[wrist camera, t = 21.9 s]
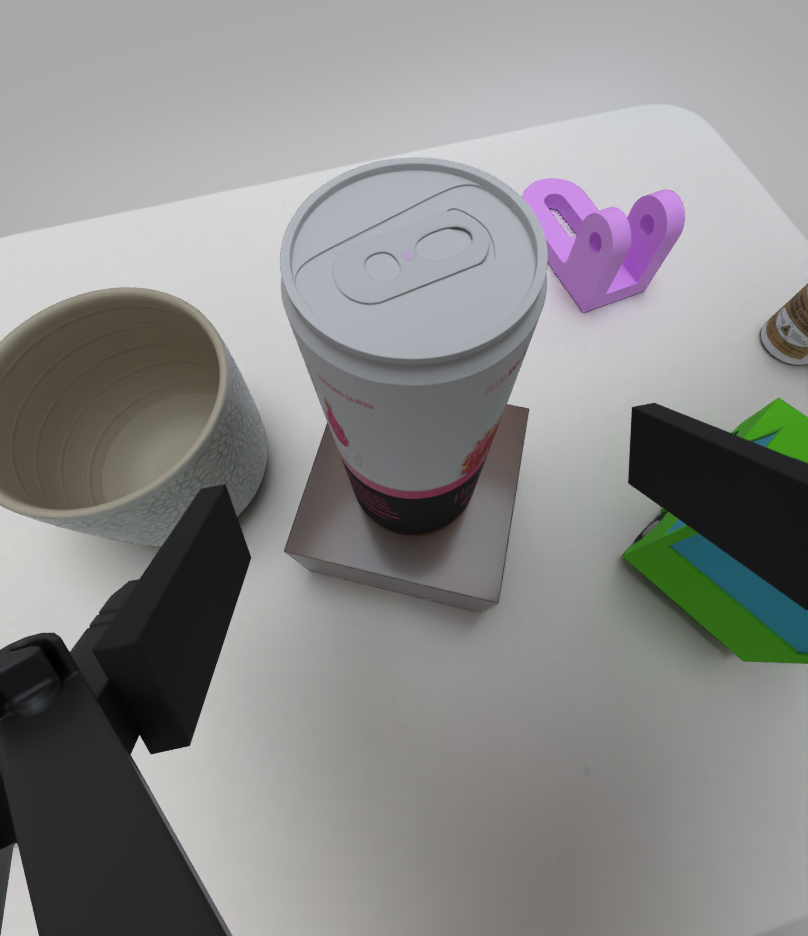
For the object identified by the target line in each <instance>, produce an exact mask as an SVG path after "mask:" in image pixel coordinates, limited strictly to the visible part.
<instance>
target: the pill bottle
mask: <svg viewBox="0 0 808 936" xmlns="http://www.w3.org/2000/svg"><path fill="white" fill-rule="evenodd" d="M761 338H762V342H763V344H764V346H765V347H766V349H767V350H768V351H769V352H770V353H771V354H772V355H773V356H775V357H776V358H777V359H779V360H781V361H784V362H786V363H790V364H794V365H804V364H808V284H807V285H806V286H805V287H804V288H802V289H801V290H800V291H799V292H798V293H797V294H796V295H795V296H794V297H793V298H792V299H791V300H790V301H788V302H787V303H786V304H785V305H784V306H783V307H782V308H781V309H780V310H779V311H778V312H777V313H776V314H774V315H773V316H772V317H771V318H770V319H769V320H768V321H767V322H766V323H765V324H764V326H763V328H762V332H761Z"/></svg>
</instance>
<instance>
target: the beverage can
mask: <svg viewBox="0 0 808 936" xmlns="http://www.w3.org/2000/svg"><path fill="white" fill-rule="evenodd" d="M547 265H548V250H547V243H546V238H545V235H544V232H543V229H542V226H541V224H540V222H539V220H538V218H537V217H536V215H535V213H534V212H533V210H532V209H531V208H530V206H529V205H528V204H527V203H526V201H525V200H524V199H523V198H522V197H521V196H520V195H519V194H518V193H517V192H515V191H514V190H513V189H512V188H511V187H509V186H508V185H506V184H505V183H504V182H502V181H501V180H499V179H497V178H496V177H494V176H492V175H490V174H488V173H486V172H484V171H481V170H479V169H476V168H474V167H471V166H468V165H465V164H461V163H457V162H453V161H448V160H442V159H434V158H398V159H389V160H383V161H378V162H374V163H370V164H367V165H363V166H360V167H358V168H355V169H352V170H350V171H348V172H345V173H343V174H341V175H339V176H337V177H336V178H334V179H332V180H330V181H329V182H327V183H326V184H324V185H323V186H321V187H320V188H319V189H318V190H316V191H315V192H314V193H313V194H312V195H311V196H309V197H308V198H307V199H306V200H305V202H304V203H303V204H302V205H301V206H300V207H299V208H298V210H297V211H296V213H295V214H294V216H293V217H292V219H291V221H290V223H289V225H288V227H287V229H286V231H285V234H284V237H283V241H282V245H281V252H280V269H281V275H282V276H281V293H282V300H283V304H284V308H285V311H286V314H287V317H288V319H289V322H290V324H291V327H292V330H293V332H294V335H295V338H296V340H297V343H298V346H299V348H300V351H301V353H302V356H303V359H304V361H305V364H306V367H307V369H308V372H309V375H310V377H311V380H312V382H313V385H314V388H315V390H316V393H317V396H318V398H319V401H320V404H321V406H322V409H323V411H324V414H325V417H326V419H327V422H328V425H329V427H330V430H331V432H332V435H333V438H334V440H335V443H336V446H337V448H338V451H339V454H340V456H341V459H342V461H343V464H344V467H345V469H346V472H347V475H348V477H349V480H350V483H351V485H352V488H353V490H354V493H355V496H356V498H357V500H358V502H359V504H360V505H361V507H362V508H363V510H364V511H365V512H366V513H367V514H368V515H369V516H370V517H371V518H372V519H373V520H374V521H376V522H377V523H379V524H380V525H382V526H384V527H386V528H388V529H391V530H394V531H397V532H401V533H409V534H418V533H426V532H431V531H434V530H437V529H439V528H442V527H444V526H446V525H447V524H449V523H451V522H452V521H453V520H455V519H456V518H457V517H458V516H459V515H460V514H461V513H462V512H463V511H464V509H465V508H466V507H467V505H468V503H469V502H470V500H471V497H472V495H473V492H474V490H475V487H476V484H477V482H478V479H479V476H480V474H481V471H482V468H483V466H484V463H485V460H486V458H487V455H488V452H489V450H490V447H491V444H492V442H493V439H494V436H495V434H496V431H497V428H498V426H499V423H500V420H501V418H502V415H503V412H504V410H505V407H506V404H507V402H508V399H509V396H510V394H511V391H512V388H513V386H514V383H515V380H516V378H517V375H518V372H519V370H520V367H521V364H522V362H523V359H524V356H525V354H526V351H527V348H528V346H529V343H530V340H531V338H532V335H533V333H534V330H535V327H536V325H537V322H538V319H539V317H540V314H541V311H542V308H543V305H544V301H545V297H546V290H547V273H546V271H547Z"/></svg>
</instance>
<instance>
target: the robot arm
mask: <svg viewBox="0 0 808 936" xmlns="http://www.w3.org/2000/svg"><path fill="white" fill-rule="evenodd" d="M628 483H629V484H630V485H632V486H633V487H634V488H636V489H637V490H639V491H640V492H641V493H643V494H644V495H646V496H647V497H648V498H650V499H651V500H652V501H654V502H655V503H657V504H658V505H659V506H661V507H662V508H664V509H665V510H666V511H668V512H669V513H671V514H672V515H673V516H675V517H676V518H678V519H679V520H680V521H682V522H683V523H685V524H686V525H687V526H689V527H690V528H692V529H693V530H694V531H696V532H697V533H699V534H700V535H701V536H703V537H704V538H706V539H707V540H708V541H710V542H711V543H713V544H714V545H715V546H717V547H718V548H720V549H721V550H722V551H724V552H725V553H727V554H728V555H729V556H731V557H732V558H734V559H735V560H736V561H738V562H739V563H741V564H742V565H743V566H745V567H746V568H748V569H749V570H750V571H752V572H753V573H755V574H756V575H757V576H759V577H760V578H762V579H763V580H764V581H766V582H767V583H769V584H770V585H771V586H773V587H774V588H776V589H777V590H778V591H780V592H781V593H783V594H784V595H785V596H787V597H788V598H790V599H791V600H792V601H794V602H795V603H797V604H798V605H799V606H801V607H802V608H804V609H805V610H806V611H807V610H808V463H807V462H804V461H802V460H799V459H796V458H792V457H789V456H787V455H784V454H782V453H779V452H777V451H774V450H772V449H769V448H767V447H764V446H762V445H759V444H757V443H754V442H752V441H749V440H746V439H744V438H741V437H739V436H736V435H734V434H731V433H729V432H726V431H724V430H721V429H719V428H716V427H714V426H711V425H709V424H706V423H704V422H701V421H699V420H696V419H694V418H691V417H689V416H686V415H684V414H681V413H679V412H676V411H674V410H671V409H669V408H666V407H663V406H661V405H658V404H656V403H651V404H646V405H641V406H636V407H632V417H631V437H630V457H629V477H628ZM250 560H251V556H250V553H249V550H248V547H247V544H246V541H245V538H244V536H243V533H242V530H241V527H240V524H239V521H238V518H237V515H236V512H235V509H234V506H233V504H232V501H231V498H230V495H229V492H228V489H227V486H226V484H222V485H217V486H212V487H207V488H201V489H200V490H199V492H198V493H197V495H196V496H195V498H194V499H193V501H192V502H191V504H190V505H189V507H188V508H187V510H186V511H185V513H184V514H183V516H182V517H181V519H180V520H179V522H178V523H177V525H176V526H175V528H174V529H173V530H172V532H171V533H170V535H169V536H168V538H167V539H166V541H165V542H164V544H163V545H162V547H161V548H160V550H159V551H158V553H157V554H156V556H155V557H154V559H153V560H152V562H151V563H150V565H149V566H148V568H147V569H146V570H145V572H144V573H143V575H142V576H141V578H140V579H138V580H133V581H129V582H128V583H126V584H125V585H124V586H123V587H121V588H120V589H119V590H118V591H117V592H115V593H114V594H113V595H112V596H111V597H110V598H109V599H108V601H107V602H106V603H105V605H104V606H103V608H102V609H101V610H100V612H99V615H97V616H96V617H95V619H94V620H93V621H92V623H91V624H90V628H88V629H87V630H86V631H85V632H84V634H83V635H82V636H81V638H80V639H79V640H78V642H77V643H76V645H75V646H74V647H73V649H72V650H71V651H70V652H69V651H68V649H67V647H66V646H65V644H64V642H63V640H62V639H61V637H60V636H58V635H57V634H55V633H40V634H36V635H32V636H28V637H25V638H23V639H21V640H18V641H16V642H14V643H12V644H9V645H8V646H6V647H4V648H3V649H1V650H0V935H1V928H2V921H3V914H4V907H5V900H6V893H7V887H8V880H9V873H10V866H11V859H12V852H13V845H14V843H15V842H18V847H19V851H20V855H21V860H22V864H23V868H24V873H25V877H26V881H27V886H28V890H29V894H30V899H31V903H32V907H33V911H34V916H35V920H36V924H37V929H38V933H39V936H232V934H231V932H230V931H229V929H228V927H227V925H226V923H225V922H224V920H223V918H222V916H221V915H220V913H219V911H218V909H217V907H216V906H215V904H214V902H213V900H212V899H211V897H210V895H209V893H208V891H207V890H206V888H205V886H204V884H203V883H202V881H201V879H200V877H199V875H198V874H197V872H196V870H195V868H194V867H193V865H192V863H191V861H190V859H189V858H188V856H187V854H186V852H185V851H184V849H183V847H182V845H181V843H180V842H179V840H178V838H177V836H176V835H175V833H174V831H173V829H172V827H171V826H170V824H169V822H168V820H167V818H166V817H165V815H164V813H163V811H162V810H161V808H160V806H159V804H158V802H157V801H156V799H155V797H154V795H153V794H152V792H151V790H150V788H149V786H148V785H147V783H146V781H145V779H144V778H143V776H142V774H141V772H140V770H139V769H138V767H137V765H136V763H135V762H134V760H133V758H132V757H131V752H132V750H133V748H134V746H135V743H136V741H137V739H138V737H139V735H140V736H141V738H142V740H143V742H144V743H145V745H146V747H147V749H148V750H149V752H150V754H155V753H160V752H164V751H169V750H173V749H178V748H182V747H187V746H190V744H191V741H192V738H193V734H194V731H195V728H196V725H197V722H198V719H199V716H200V713H201V710H202V707H203V704H204V701H205V698H206V695H207V692H208V689H209V686H210V682H211V679H212V676H213V673H214V670H215V667H216V664H217V661H218V658H219V655H220V652H221V649H222V646H223V643H224V640H225V637H226V633H227V630H228V627H229V624H230V621H231V618H232V615H233V612H234V609H235V606H236V603H237V600H238V597H239V594H240V591H241V588H242V584H243V581H244V578H245V575H246V572H247V569H248V566H249V563H250Z"/></svg>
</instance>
